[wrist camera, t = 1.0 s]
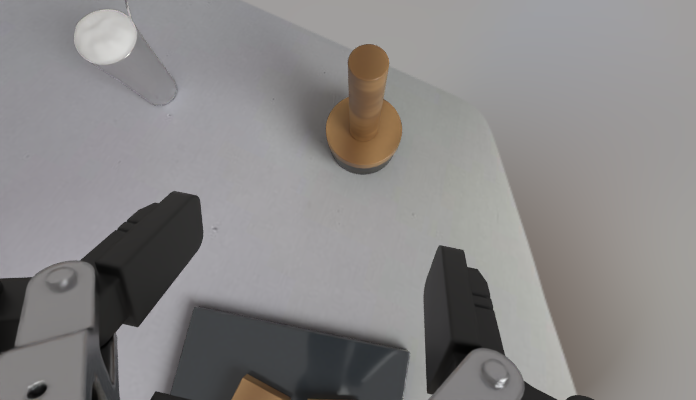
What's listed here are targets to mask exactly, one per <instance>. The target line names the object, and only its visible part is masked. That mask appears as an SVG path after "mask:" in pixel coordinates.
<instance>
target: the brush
mask: <svg viewBox="0 0 696 400" xmlns="http://www.w3.org/2000/svg"><path fill="white" fill-rule="evenodd" d="M388 68H389V58H388V56H387V54H386V52H385V51H384V50H383V49H381V48H380V47H378V46H375V45H372V44H366V45H361V46H359V47H357V48H355V49H354V50H353V51H352V52H351V54H350V56H349V59H348V86H349V97H347V98H345V99H343V100H342V101H341V102H339V103H338V104H337V105H336V106H335V107H334V108H333V109H332V111H331V112H330V114H329V116H328V119H327V123H326V137H327V141H328V145H329V147H330V149H331V151H332V154H333V157H334V158H335V160H336V161H337V163H338V164H339V165H340V166H341V167H342V168H344V169H345V170H347V171H349V172H352V173H355V174H371V173H374V172H377V171H379V170H381V169H382V168H383V167H385V166H386V165H387V164H388V163H389V161H390V160H391V158H392V156H393V154H394V153H395V152H396V150H397V148H398V146H399V143H400V140H401V136H402V124H401V120H400V117H399V115H398V113H397V111H396V110H395V108H394V107H393V106H392V105H391V104H390V103H389V102H387V101H386V100H384V99H383V98H384V92H385V86H386V80H387V74H388Z"/></svg>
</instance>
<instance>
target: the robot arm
mask: <svg viewBox="0 0 696 400" xmlns="http://www.w3.org/2000/svg"><path fill="white" fill-rule="evenodd" d="M202 239H203V224H202V215H201V205H200V199H199V197H198V196H197V195H192V194H187V193H182V192H177V191H173V192H171V193H170V194H169V195H168V196H167V197H166V198H164V199H163V200H162V201H161V202H160V203H153V204H151V205H149V206H146V207H144V208H142V209H140V210H138V211H137V212H136V213H135V214H134V215H132V216H131V217H130V218H129V219H128V220H127V222H124V223H123V224H122V225H121V226H120V227H118V230H115V231H114V232H113V233H112V234H110V235H109V236H108V237H107V238H106V239H105V240H103V241H102V242H101V243H100V244H99V245H98V246H96V247H95V248H94V249H93V250H92V251H91V252H89V253H88V254H87V255H86V256H85V257H84V258H82V259H81V260H80V261H65V262H60V263H57V264H54V265H51V266H49V267H47V268H45V269H43V270H41V271H40V272H38V273H37V274H36V275H35V276H33V277H27V278H3V279H0V400H120V397H119V380H118V350H117V335H116V331H117V330H118V329H119V327H120V326H121V325H122V324H126V325H130V326H135V327H139V325H140V324H141V323H142V322H143V320H144V319H145V318H146V316H147V315H148V314H149V313H150V311H151V310H152V309H153V307H154V306H155V305H156V304H157V302H158V301H159V300H160V298H161V297H162V296H163V295H164V293H165V292H166V291H167V289H168V288H169V287H170V286H171V284H172V283H173V282H174V280H175V279H176V278H177V277H178V275H179V274H180V273H181V271H182V270H183V269H184V268H185V266H186V265H187V264H188V262H189V261H190V260H191V259H192V257H193V256H194V255H195V253H196V252H197V251H198V249H199V248H200V245H201V243H202ZM424 324H425V352H426V379H427V393H429V394H433V395H432V396H431V397H430V398H429V400H557V399H555V398H553V397H551V396H549V395H547V394H545V393H543V392H541V391H539V390H537V389H536V388H534V387H532V386H530V385H529V384H528V383H526V382H525V381H524V380H523V377H522V375H521V373H520V371H519V370H518V368H517V367H516V366H515V364H514V363H513V362H512V361H511V360H510V359H508V358H507V357H506V356H505V354H504V350H503V346H502V341H501V337H500V333H499V329H498V325H497V321H496V317H495V313H494V310H493V305H492V301H491V299H490V293H489V288H488V284H487V282H486V280H485V279H484V278H483V276H482V275H481V273H480V272H479V271H478V269H474V268H469V267H467V264H466V258H465V253H464V251H463V250H461V249H456V248H451V247H446V246H441V245H440V246H439V247H438V249H437V251H436V254H435V257H434V259H433V262H432V265H431V268H430V271H429V273H428V276H427V279H426V283H425V288H424ZM151 400H190V399H186V398H182V397H178V396H173V395H169V394H165V393H160V392H155V393H154V395H153V396H152V398H151ZM566 400H594V399H591V398H589V397H586V396H581V395H575V396H571V397H568V398H567V399H566Z"/></svg>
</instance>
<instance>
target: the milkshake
mask: <svg viewBox="0 0 696 400" xmlns="http://www.w3.org/2000/svg"><path fill="white" fill-rule="evenodd" d="M125 4H126V8H127V12H128V16H129V17H128V16H127V15H125V14H124V13H122V12H120V11H117V10H111V9H104V10H98V11H94V12H92V13H90V14H88V15H87V16H85V17H84V18H82V19H81V20H80V21H79V22H78V23H77V25H76V28H75V33H74V43H75V46H76V49H77V50H78V52H79V54H80V55H81V56H82V57H83V58H84V59H86V60H87V61H89V62H90V63H92V64H93V65H95V66H96V67H98V68H99V69H101V70H102V71H104V72H105V73H107V74H108V75H110V76H112V77H113V78H115V79H117V80H118V81H120V82H121V83H123V84H124V85H125V86H127V87H128V88H130V89H131V90H132V91H134V92H135V93H137V94H138V95H139V96H141V97H142V98H144V99H145V100H147V101H148V102H150V103H151V104H153V105H166V104H167V103H168V102H170V101H171V100H173V99H174V97H175V94H176V92H177V87H176V83H175V80H174V79H173V78H172V76H171V75H170V73H169V72H168V71H167V69H166V68H165V67H164V65H163V64H162V63H161V61H160V60H159V58H158V57H157V56H156V54H155V53H154V52H153V50H152V49H151V48H150V46H149V45H148V43H147V42H146V40H145V39H144V38H143V36H142V35H141V33H140V32H139V30H138V29H137V27H136V26H135V24H134V23H133V21H132V18H131V14H130V10H129V5H128V1H127V0H125Z"/></svg>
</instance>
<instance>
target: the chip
mask: <svg viewBox="0 0 696 400" xmlns="http://www.w3.org/2000/svg"><path fill="white" fill-rule="evenodd" d="M231 400H291V398H290V397H289V396H287V395H285V394H283V393H281V392H279V391H278V390H276V389H274V388H272V387H270V386H269V385H267V384H265V383H263V382H261V381H259V380H258V379H256V378H254V377H252V376H250V375H249V374H246V375H245V376H244V377H243V378H242V380H241V382H240V384H239V386H238V388H237V390H236V392H235V393H234V395H233V397H232V399H231Z"/></svg>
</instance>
